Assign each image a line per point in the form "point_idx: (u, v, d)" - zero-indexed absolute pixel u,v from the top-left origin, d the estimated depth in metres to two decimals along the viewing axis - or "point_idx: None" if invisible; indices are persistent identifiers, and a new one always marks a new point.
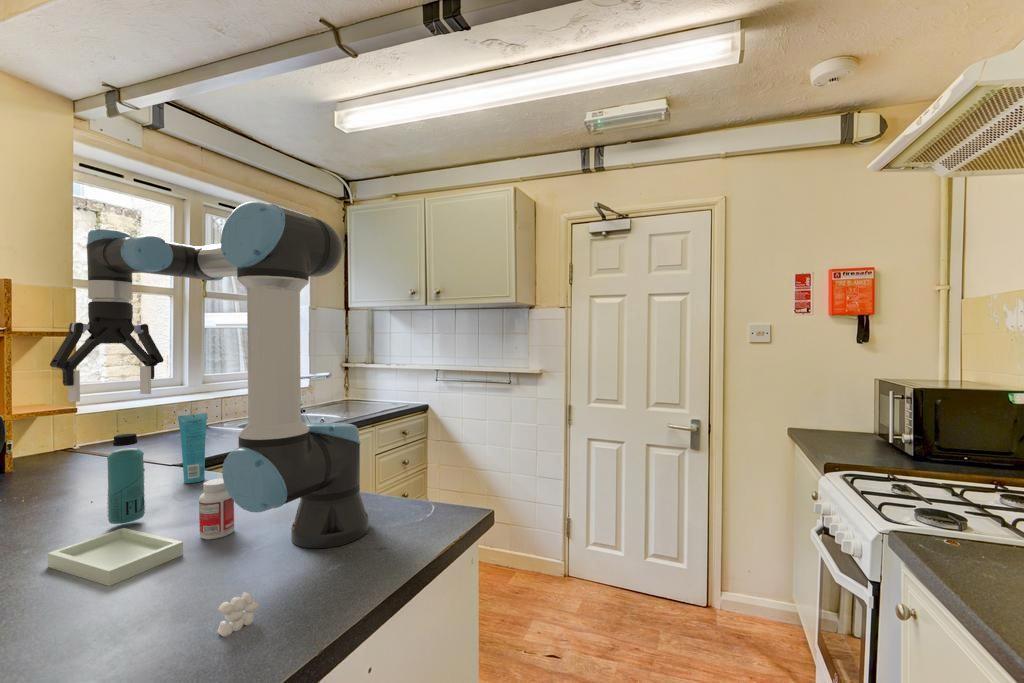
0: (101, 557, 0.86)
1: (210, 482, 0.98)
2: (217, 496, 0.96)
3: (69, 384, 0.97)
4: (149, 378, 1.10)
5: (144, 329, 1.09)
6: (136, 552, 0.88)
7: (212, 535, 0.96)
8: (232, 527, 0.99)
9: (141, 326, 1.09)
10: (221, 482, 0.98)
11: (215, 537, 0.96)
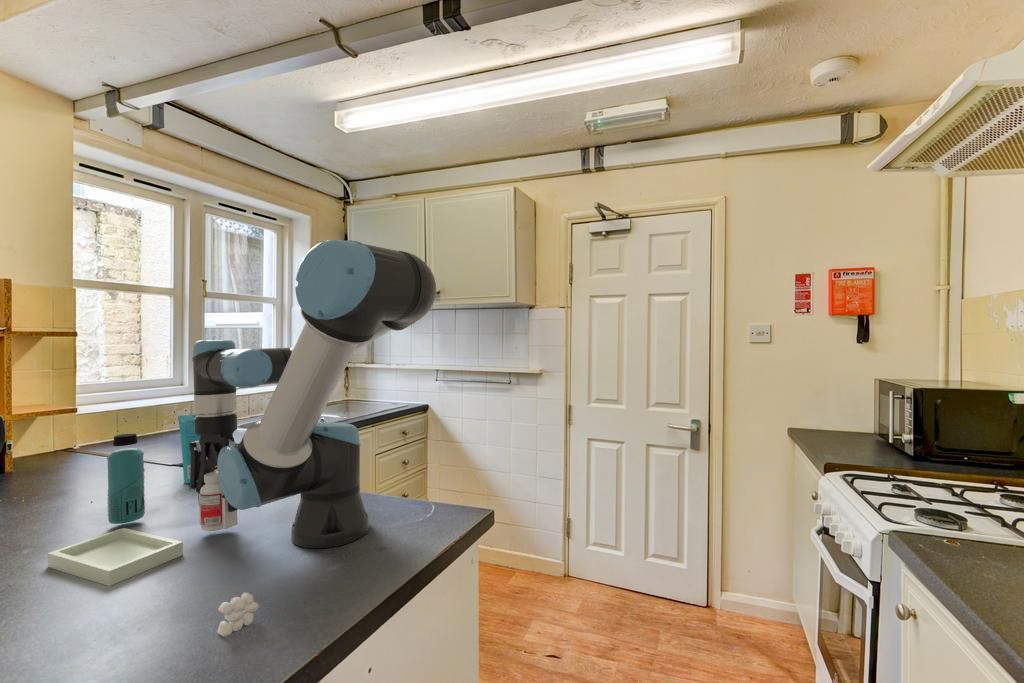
0: (101, 557, 0.86)
1: (211, 474, 0.98)
2: (218, 487, 0.96)
3: None
4: (223, 511, 0.96)
5: None
6: (136, 552, 0.88)
7: (213, 527, 0.95)
8: None
9: None
10: None
11: (216, 529, 0.96)
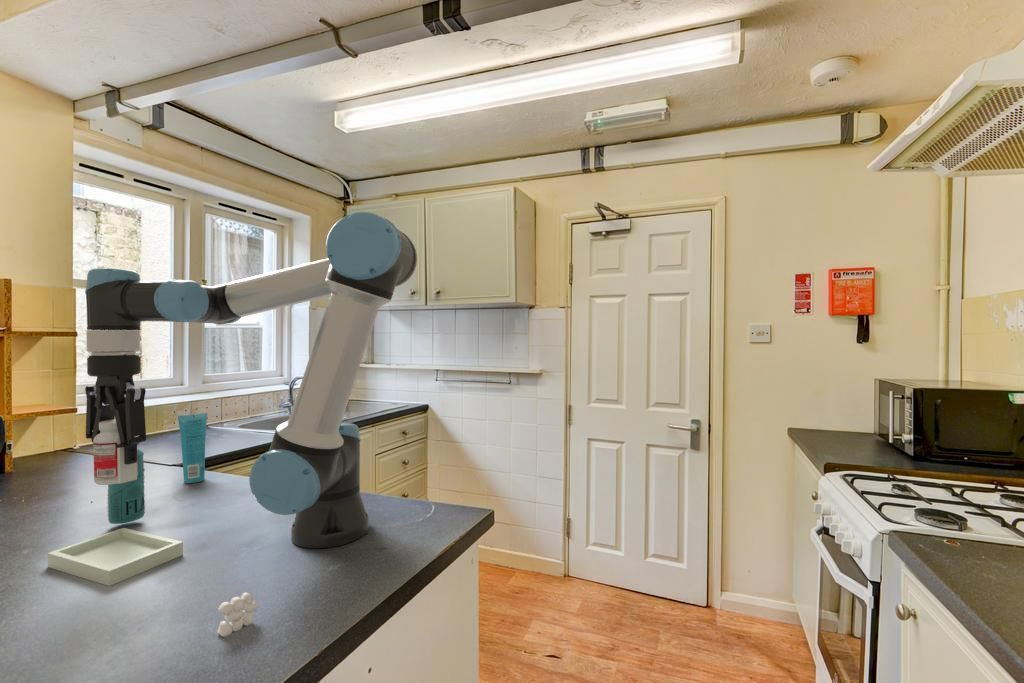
0: (101, 557, 0.86)
1: (108, 421, 0.86)
2: (113, 436, 0.85)
3: None
4: (118, 463, 0.84)
5: (126, 395, 0.83)
6: (136, 552, 0.88)
7: (107, 480, 0.84)
8: None
9: None
10: None
11: (111, 482, 0.84)
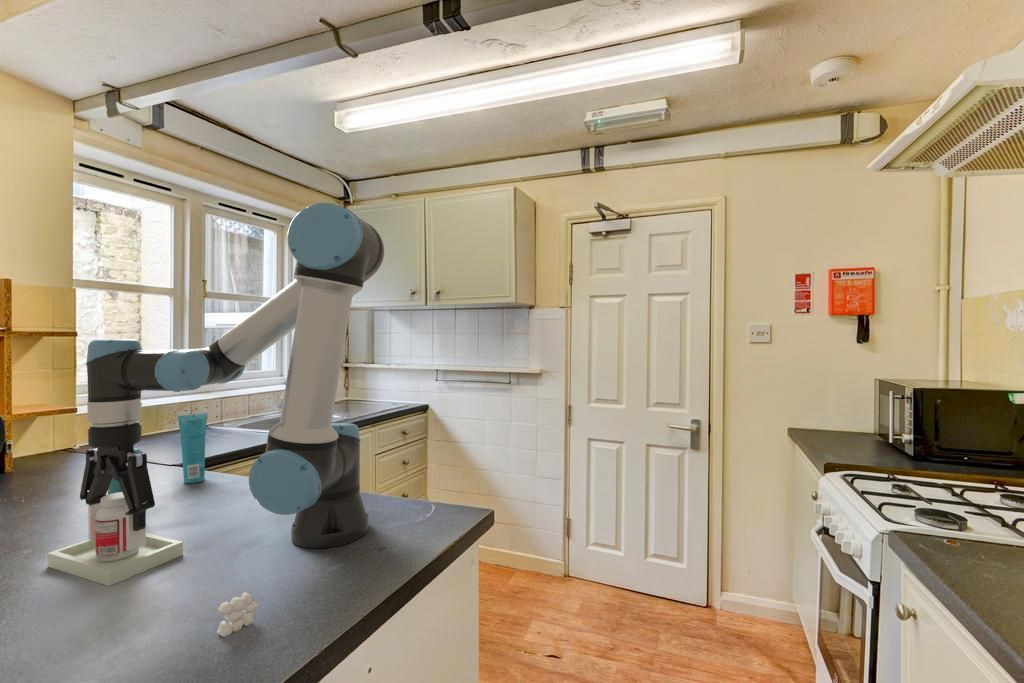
0: None
1: (109, 496, 0.86)
2: (115, 512, 0.85)
3: None
4: (127, 530, 0.83)
5: (128, 463, 0.83)
6: (136, 552, 0.88)
7: (109, 557, 0.84)
8: None
9: None
10: (122, 496, 0.86)
11: (112, 559, 0.84)
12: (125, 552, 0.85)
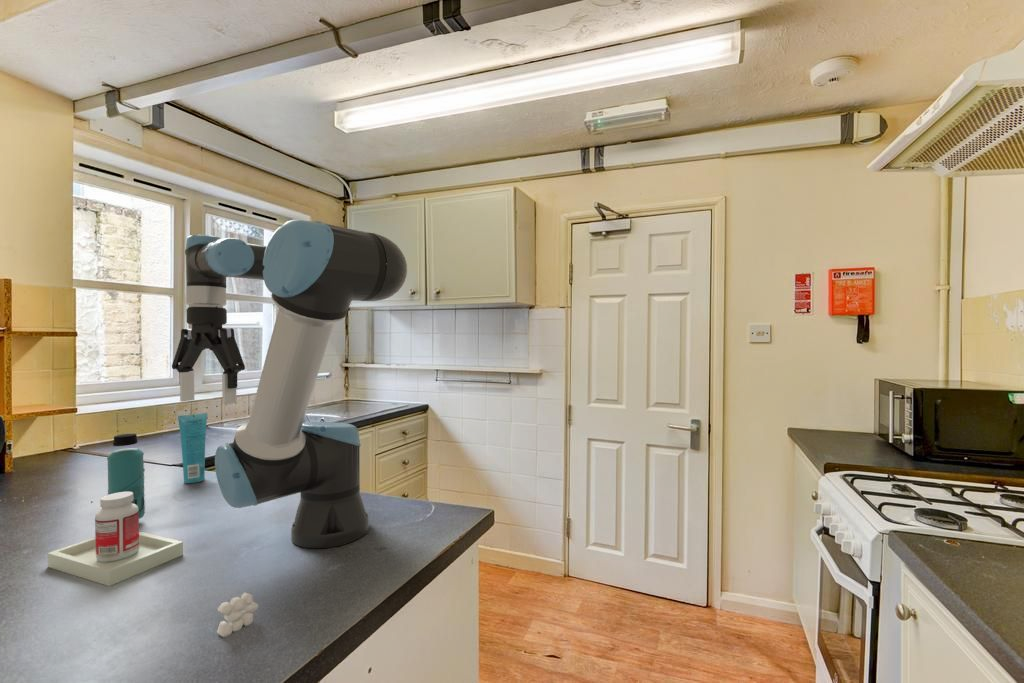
0: None
1: (109, 496, 0.86)
2: (115, 513, 0.85)
3: None
4: (223, 387, 1.01)
5: (221, 334, 1.02)
6: (136, 552, 0.88)
7: (109, 557, 0.84)
8: (135, 547, 0.87)
9: None
10: (121, 496, 0.86)
11: (112, 559, 0.84)
12: (125, 552, 0.85)
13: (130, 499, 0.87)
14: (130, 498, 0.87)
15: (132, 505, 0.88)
